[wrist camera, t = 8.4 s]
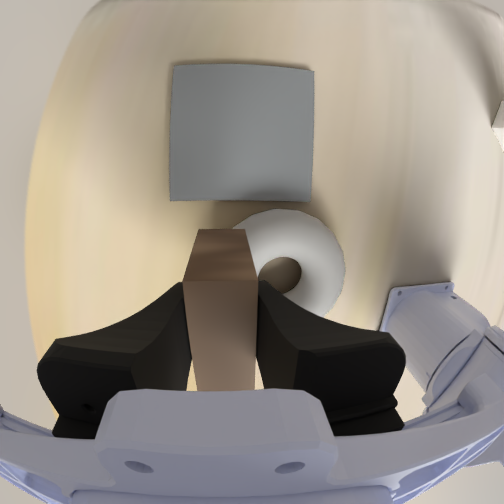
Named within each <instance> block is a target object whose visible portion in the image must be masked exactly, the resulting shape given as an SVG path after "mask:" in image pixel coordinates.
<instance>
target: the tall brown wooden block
mask: <svg viewBox="0 0 504 504" xmlns="http://www.w3.org/2000/svg"><path fill="white" fill-rule="evenodd" d="M182 282H183V292H184V301H185V310H186V318H187V326H188V333H189V340H190V347H191V354H192V361H193V367H194V373H195V379H196V385H197V390H198V391H242V390H254V388H255V362H256V334H257V305H258V277H257V273H256V269H255V266H254V262H253V258H252V254H251V250H250V246H249V243H248V239H247V235H246V231H245V229H199V230H198V233H197V236H196V239H195V243H194V246H193V249H192V252H191V255H190V258H189V262H188V265H187V268H186V271H185V275H184V278H183V281H182Z"/></svg>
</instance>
